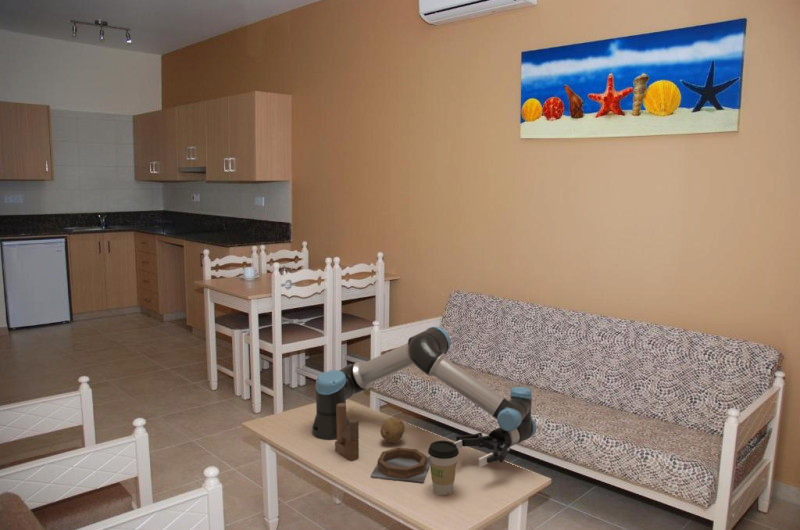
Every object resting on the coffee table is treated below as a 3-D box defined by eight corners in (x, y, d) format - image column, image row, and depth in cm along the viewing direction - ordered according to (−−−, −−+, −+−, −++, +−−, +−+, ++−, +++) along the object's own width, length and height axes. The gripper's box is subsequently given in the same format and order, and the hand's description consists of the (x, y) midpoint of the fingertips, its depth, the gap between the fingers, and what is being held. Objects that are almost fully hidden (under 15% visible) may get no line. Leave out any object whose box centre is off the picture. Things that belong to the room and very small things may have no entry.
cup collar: (383, 454, 221) (383, 444, 220) (432, 459, 217) (432, 449, 217) (370, 477, 204) (370, 467, 203) (423, 483, 200) (423, 473, 199)
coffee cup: (427, 482, 200) (427, 439, 198) (457, 483, 200) (457, 439, 198) (427, 498, 190) (428, 452, 188) (459, 498, 190) (459, 453, 188)
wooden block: (350, 461, 216) (350, 412, 213) (334, 450, 224) (333, 404, 221) (359, 458, 218) (358, 410, 215) (343, 448, 226) (342, 401, 224)
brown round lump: (384, 449, 225) (384, 424, 223) (377, 440, 233) (377, 415, 232) (407, 446, 228) (407, 420, 226) (399, 436, 236) (399, 412, 235)
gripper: (532, 459, 206) (493, 480, 192) (476, 436, 224) (436, 454, 210) (533, 438, 205) (493, 457, 191) (476, 417, 223) (436, 433, 209)
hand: (463, 456), depth 200 cm, fingers open, 13 cm apart
